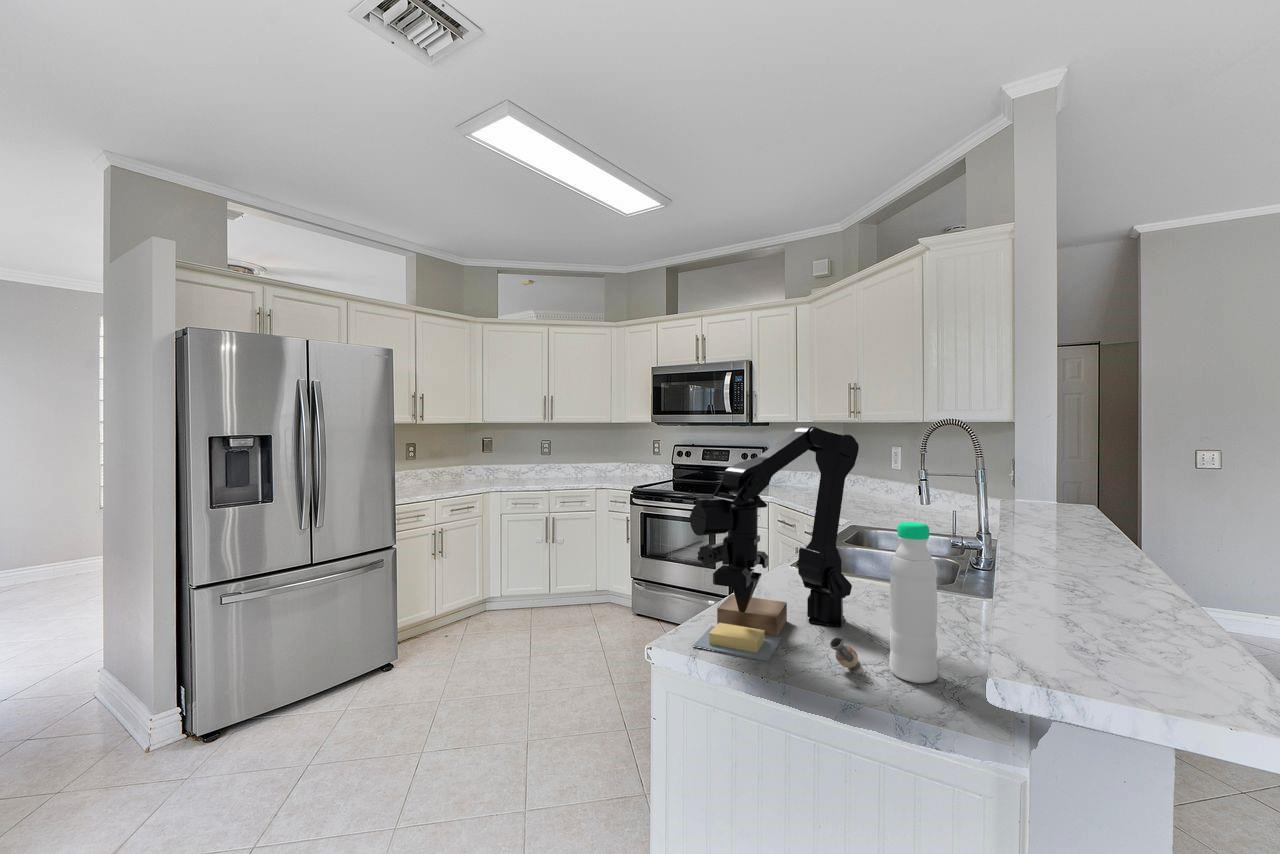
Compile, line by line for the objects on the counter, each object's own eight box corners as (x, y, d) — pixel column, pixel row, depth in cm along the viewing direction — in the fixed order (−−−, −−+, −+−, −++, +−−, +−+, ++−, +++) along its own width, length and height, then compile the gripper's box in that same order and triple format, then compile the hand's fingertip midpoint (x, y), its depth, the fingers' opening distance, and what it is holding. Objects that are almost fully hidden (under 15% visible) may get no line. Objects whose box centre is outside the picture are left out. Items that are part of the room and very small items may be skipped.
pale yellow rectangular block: (756, 641, 97) (756, 652, 97) (764, 630, 103) (764, 640, 103) (709, 632, 101) (709, 643, 101) (719, 622, 107) (719, 632, 107)
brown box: (786, 621, 114) (786, 602, 114) (776, 637, 105) (776, 617, 105) (731, 612, 119) (731, 594, 119) (717, 627, 110) (717, 608, 110)
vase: (840, 682, 87) (838, 644, 87) (822, 670, 92) (820, 634, 93) (870, 678, 88) (868, 640, 88) (851, 667, 93) (849, 631, 94)
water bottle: (881, 666, 93) (881, 520, 93) (920, 664, 93) (920, 519, 93) (904, 686, 86) (904, 527, 86) (947, 684, 86) (947, 527, 86)
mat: (781, 639, 104) (781, 637, 104) (768, 661, 94) (768, 659, 94) (711, 627, 110) (711, 625, 110) (692, 647, 100) (692, 645, 100)
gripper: (717, 520, 117) (717, 592, 117) (686, 536, 100) (686, 620, 100) (769, 524, 112) (769, 600, 112) (745, 542, 95) (745, 630, 95)
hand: (742, 611), depth 105 cm, fingers closed
